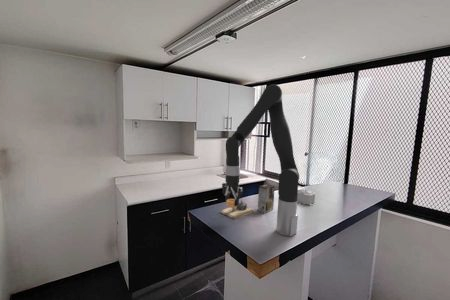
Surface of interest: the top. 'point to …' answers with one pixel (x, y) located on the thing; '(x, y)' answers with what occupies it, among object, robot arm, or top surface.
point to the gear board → (237, 211)
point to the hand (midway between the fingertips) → (231, 203)
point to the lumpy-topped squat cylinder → (306, 196)
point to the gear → (230, 203)
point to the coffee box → (266, 198)
